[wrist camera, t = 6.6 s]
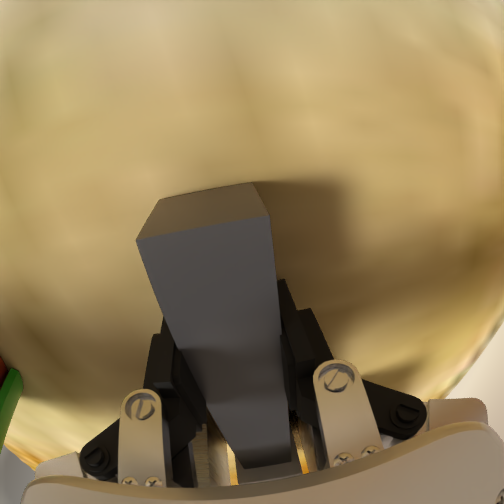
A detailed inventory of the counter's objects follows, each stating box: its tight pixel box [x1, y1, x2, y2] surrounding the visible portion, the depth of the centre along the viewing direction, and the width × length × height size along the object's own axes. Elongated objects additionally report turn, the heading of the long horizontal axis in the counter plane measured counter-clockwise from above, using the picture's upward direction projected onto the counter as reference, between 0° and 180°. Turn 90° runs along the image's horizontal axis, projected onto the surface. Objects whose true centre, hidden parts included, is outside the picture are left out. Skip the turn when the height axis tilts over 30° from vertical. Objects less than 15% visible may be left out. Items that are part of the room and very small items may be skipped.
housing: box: [192, 408, 318, 488], centre depth 13 cm, size 6×10×6 cm, turn 97°
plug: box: [136, 182, 302, 485], centre depth 12 cm, size 22×4×4 cm, turn 8°
